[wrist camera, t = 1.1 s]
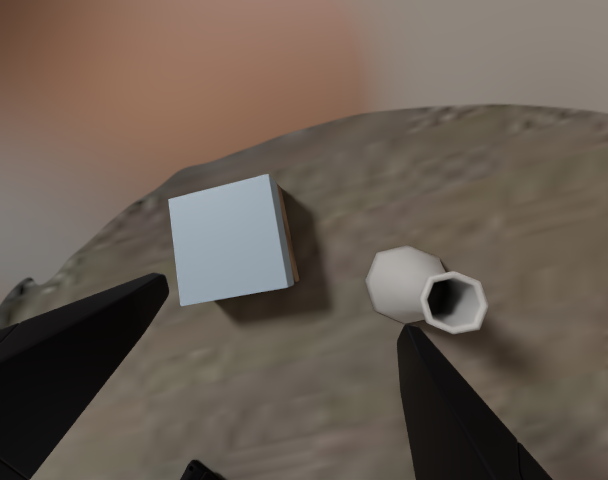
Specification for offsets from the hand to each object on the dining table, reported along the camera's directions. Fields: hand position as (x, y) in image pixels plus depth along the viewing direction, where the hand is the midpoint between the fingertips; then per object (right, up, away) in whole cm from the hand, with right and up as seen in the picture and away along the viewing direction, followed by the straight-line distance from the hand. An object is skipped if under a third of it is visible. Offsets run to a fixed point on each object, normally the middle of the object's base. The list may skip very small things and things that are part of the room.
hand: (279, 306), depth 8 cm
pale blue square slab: (-6, +2, +14) cm, 16 cm away
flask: (+10, -2, +13) cm, 17 cm away
